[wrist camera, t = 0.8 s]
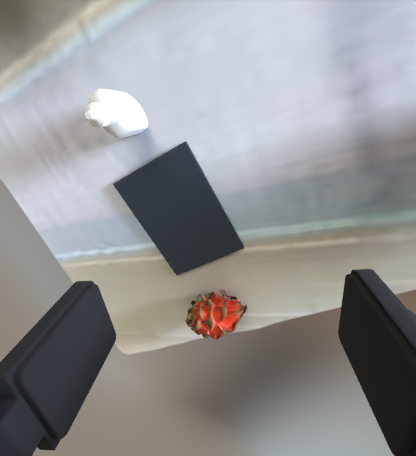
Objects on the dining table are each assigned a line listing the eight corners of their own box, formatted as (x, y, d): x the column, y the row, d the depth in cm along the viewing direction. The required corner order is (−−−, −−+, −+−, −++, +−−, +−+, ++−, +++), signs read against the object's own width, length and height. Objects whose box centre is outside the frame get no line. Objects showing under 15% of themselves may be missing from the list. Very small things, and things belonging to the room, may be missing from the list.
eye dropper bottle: (122, 135, 37) (77, 145, 27) (113, 93, 35) (59, 86, 24) (150, 132, 37) (115, 142, 26) (143, 90, 34) (100, 81, 24)
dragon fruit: (185, 297, 52) (240, 282, 51) (195, 339, 50) (252, 325, 49) (174, 301, 44) (240, 283, 43) (186, 352, 42) (254, 334, 41)
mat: (114, 183, 41) (112, 184, 40) (186, 141, 37) (185, 141, 36) (177, 273, 48) (176, 275, 47) (243, 246, 44) (243, 248, 43)
